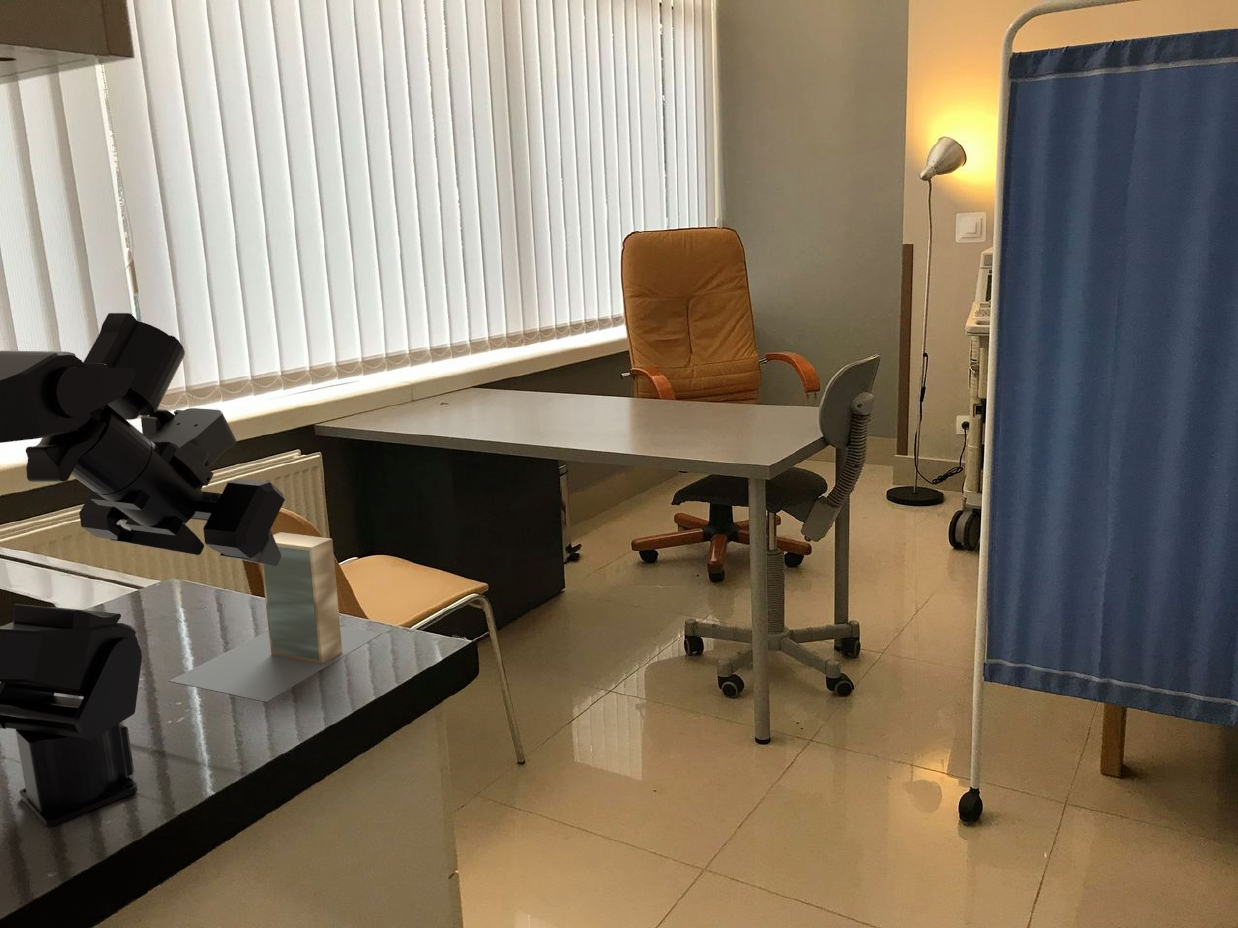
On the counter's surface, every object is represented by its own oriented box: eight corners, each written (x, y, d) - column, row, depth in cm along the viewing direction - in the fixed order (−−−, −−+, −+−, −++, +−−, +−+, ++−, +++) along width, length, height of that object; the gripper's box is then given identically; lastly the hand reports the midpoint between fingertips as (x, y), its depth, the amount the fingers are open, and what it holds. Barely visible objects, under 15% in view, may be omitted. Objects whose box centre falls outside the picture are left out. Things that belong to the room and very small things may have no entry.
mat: (267, 705, 91) (266, 701, 90) (169, 684, 95) (169, 680, 95) (382, 636, 106) (382, 633, 106) (293, 621, 110) (292, 618, 110)
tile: (321, 664, 98) (310, 547, 95) (270, 654, 101) (258, 540, 98) (342, 652, 101) (332, 538, 98) (291, 643, 103) (280, 532, 101)
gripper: (256, 386, 79) (356, 488, 91) (90, 378, 87) (203, 473, 99) (190, 507, 74) (305, 598, 86) (19, 487, 81) (148, 574, 94)
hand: (238, 555), depth 91 cm, fingers open, 9 cm apart
